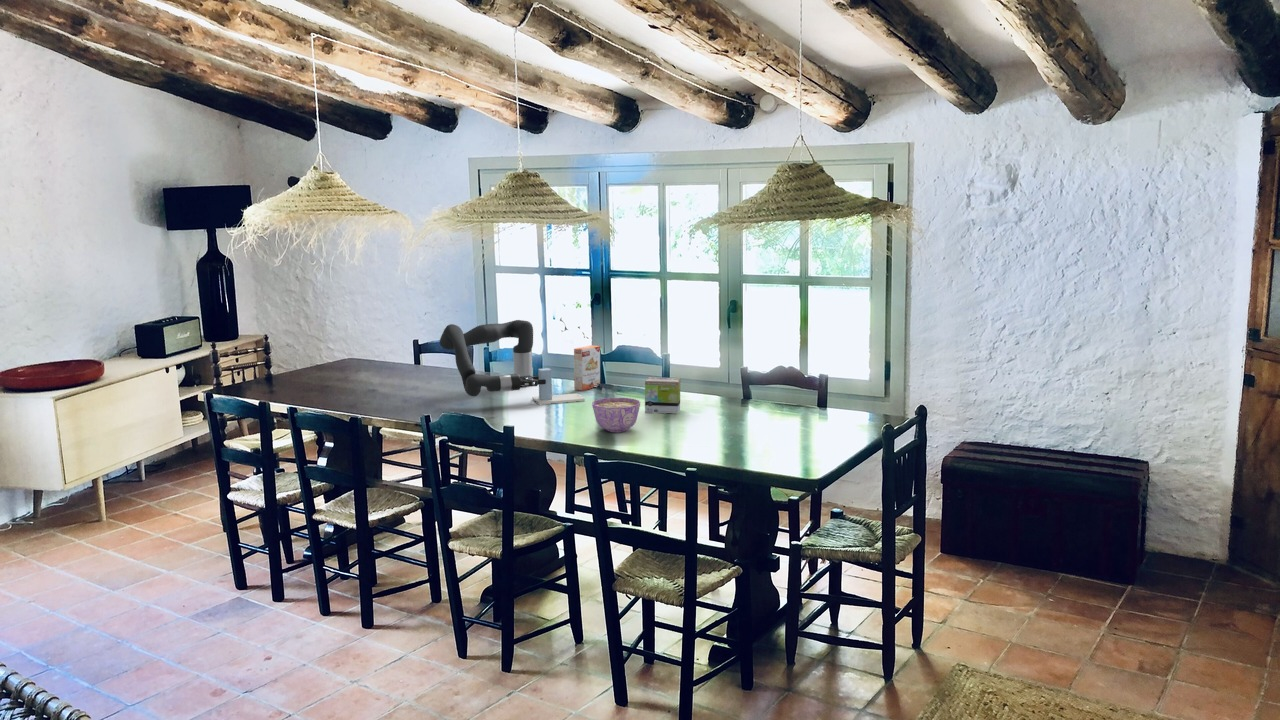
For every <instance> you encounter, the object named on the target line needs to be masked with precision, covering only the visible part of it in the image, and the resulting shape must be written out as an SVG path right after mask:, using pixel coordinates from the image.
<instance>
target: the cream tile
mask: <svg viewBox="0 0 1280 720" xmlns="http://www.w3.org/2000/svg"><path fill="white" fill-rule="evenodd" d="M531 399H533V400H532V401H534V402H535V401H536V402H537V403H538V404H537V403H536V402H535V403H536V404H537V405H539V404H544V405H552V404H551V403H556V404H566V402H568V403H577V402H576V401H579V402H586V401H585V399H586V398H585V397H583V396H581V395H580V394H579V393H567V394H566V393H565V394H552V399H551V400H541V399H540V398H539V395H538V396H532V397H531Z"/></svg>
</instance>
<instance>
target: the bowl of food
mask: <svg viewBox="0 0 1280 720" xmlns="http://www.w3.org/2000/svg"><path fill="white" fill-rule="evenodd" d="M591 405H592V408H593V409H592V410H593V413H594V414H593V415H594V417H595V421H596V423H597V425H599V427H600V428H602V429H603V430H606V431H607V432H609V431H610V433H622V432H623V431H624V432H626V431H627V430H629V429H630V428H633V426H635V424H636V423H637V419H638V417H639V411H640V407H641V401H640V400H639V399H636V398H631V397H630V398H629V397H606V398H605V397H603V398H599V399H597V400H593V401H592V402H591Z"/></svg>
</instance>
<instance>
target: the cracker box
mask: <svg viewBox="0 0 1280 720" xmlns="http://www.w3.org/2000/svg"><path fill="white" fill-rule="evenodd" d="M573 372H574V373H573V376H574V377H573V382H574V383H573V385H574V389H573V390H575V391H580V390H581V391H580V392H583V391H587V390H592V389H594V388H593V387H594V386H598V385H594V384H597V383H599V384H600V385H601V346H599V345H586V346H581V347H576V348H573ZM591 388H592V389H591Z"/></svg>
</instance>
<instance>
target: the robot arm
mask: <svg viewBox="0 0 1280 720" xmlns="http://www.w3.org/2000/svg"><path fill="white" fill-rule="evenodd" d="M504 338H515V339H518V342H517V344H516V345H514V346H513V348H512V350H513V351H512V352H513V353H512V354H513V355H512V356H513V373H512V374H511V373H509V374H503V375H493V376H491V375H490V376H489V375H484V374H479V373H476V370H475V367H474V364H473V362H472V360H471V357H470V355H469V351H468V348H467V347H469V346H477V345H483V344H491V343H495V342H498V341H499V340H501V339H504ZM439 346H440V347H441V348H443V349H445V350H448V351H454V355H455V363H456V364H455V365H456V368H457V370H458V372H459V375H460V377H461V380H462V381H461V382H462V385H463V388H464V391H465V393H466V394H467V395H468V396H470V397H477V396H478V395H480V393H481V390H482V387H485V388H486V390H487V392H491V393H493V392H513V391H520V389H521V387H520V386H525V388H530V387H538V386H539V385H541V384H546V380H545V379H542V380H539V376H538V375H537V376H535V375H534V376H533V352H532V350H533V347H534V327H533V324H532V323H531V322H530V321H529V320H524V319H523V320H522V319H521V320H520V319H516V320H512V321H511V320H510V321H508V322H504V323H487V324H486V323H485V324H480V325H477V326H475V327H473V328H472V329H470V330H468V331H466V332H463V330H462V328H461V327H460V326H458V325H456V324H452V323H450V324H448V325H445V328H444V329H443V332H442V334H441V335H440V338H439Z"/></svg>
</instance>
